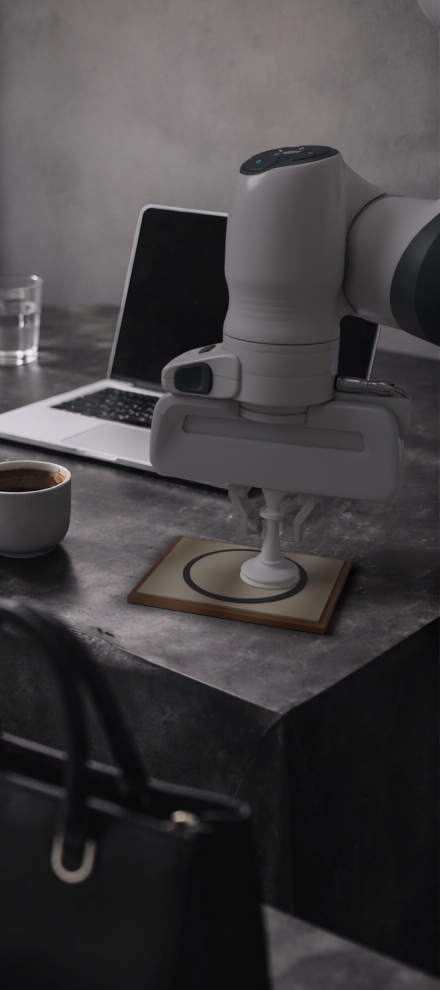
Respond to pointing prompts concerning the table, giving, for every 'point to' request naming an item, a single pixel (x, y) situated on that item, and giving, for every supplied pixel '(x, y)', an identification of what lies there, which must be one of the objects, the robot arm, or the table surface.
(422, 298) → the robot arm
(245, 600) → the wooden board
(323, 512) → the table surface
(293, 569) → the chess piece
